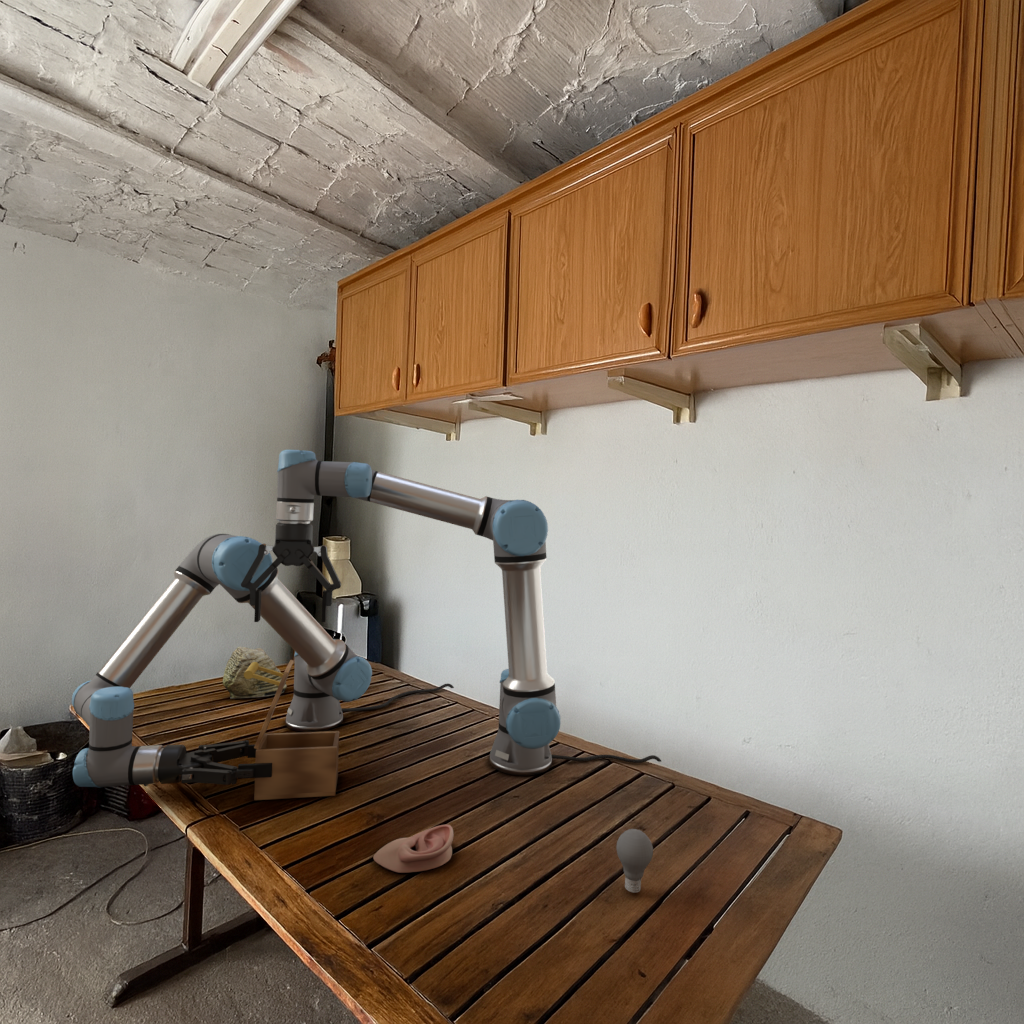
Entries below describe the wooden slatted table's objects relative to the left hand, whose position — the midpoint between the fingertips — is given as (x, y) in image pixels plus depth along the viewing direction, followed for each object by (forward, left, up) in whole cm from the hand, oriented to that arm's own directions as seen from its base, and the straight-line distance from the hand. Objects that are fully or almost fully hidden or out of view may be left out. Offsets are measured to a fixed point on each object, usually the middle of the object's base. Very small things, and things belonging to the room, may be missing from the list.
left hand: (275, 759), depth 136 cm
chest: (-4, +3, -6) cm, 8 cm away
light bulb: (-21, +75, -6) cm, 78 cm away
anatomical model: (-3, +41, -6) cm, 41 cm away
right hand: (-2, +1, +30) cm, 30 cm away
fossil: (-30, -62, -6) cm, 69 cm away
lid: (0, 0, +12) cm, 12 cm away
